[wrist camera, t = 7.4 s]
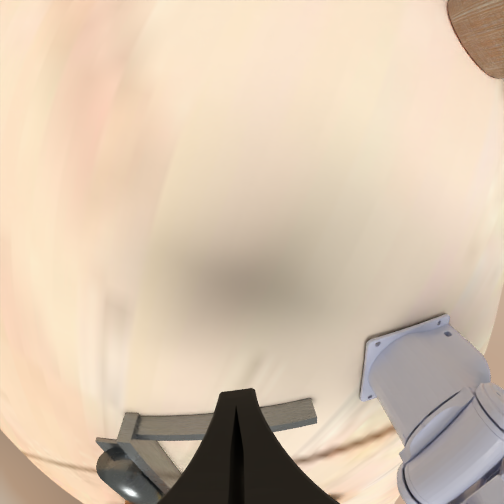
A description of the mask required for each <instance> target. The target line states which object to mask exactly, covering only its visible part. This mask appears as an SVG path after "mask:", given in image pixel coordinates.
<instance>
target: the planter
mask: <svg viewBox="0 0 504 504" xmlns="http://www.w3.org/2000/svg"><path fill="white" fill-rule="evenodd" d="M448 12H449V16H450V19H451V22H452V25H453V28H454V30H455V32H456V34H457V36H458V38H459V39H460V41H461V43H462V44H463V46H464V47H465V49H466V50H467V52H468V53H469V55H470V56H471V57H472V59H473V60H474V61H475V62H476V63H477V64H478V66H479V67H480V68H481V69H482V70H484V71H485V72H486V73H487V74H489V75H490V76H492V77H494V78H498V79H499V78H504V0H449V1H448Z"/></svg>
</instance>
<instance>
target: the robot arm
mask: <svg viewBox="0 0 504 504" xmlns="http://www.w3.org/2000/svg"><path fill="white" fill-rule="evenodd" d="M449 320H450V316H449V315H448V314H444V315H442V316H439V317H436V318H434V319H431V320H428V321H426V322H423V323H420V324H417V325H414V326H411V327H408V328H405V329H402V330H399V331H396V332H393V333H390V334H386V335H383V336H380V337H377V338H373V339H370V340H369V341H368V342H367V344H366V352H365V361H364V370H363V378H362V385H361V392H360V400H361V401H367V400H370V399H373V398H376V397H377V398H378V400H379V401H380V403H381V405H382V407H383V409H384V410H385V412H386V414H387V416H388V417H389V419H390V421H391V423H392V425H393V426H394V428H395V430H396V432H397V434H398V435H399V437H400V439H401V441H402V443H403V445H404V446H405V448H404V449H403V450H402V451H401V452H400V453H399V455H400V457H401V459H402V461H403V463H402V464H401V465H400V467H399V469H398V472H397V485H398V490H399V493H400V495H401V497H402V499H403V500H404V501H405V503H406V504H504V390H503V389H502V388H501V387H499V386H498V385H496V384H494V383H491V382H490V381H491V375H490V369H489V366H488V364H487V361H486V359H485V358H484V356H483V355H482V354H481V353H480V352H479V351H478V350H477V349H476V348H475V347H474V346H473V345H472V344H471V343H470V342H469V341H468V340H466V339H465V338H464V337H463V336H462V335H461V334H460V333H459V332H457V331H456V330H455V329H454V328H453V327H452V326H451V325H450V324H449ZM377 342H378V343H377ZM376 343H377V344H376ZM157 504H340V503H338V502H337V501H335V500H334V499H333V498H332V497H330V496H329V495H328V494H327V493H325V492H324V491H323V490H322V489H321V488H319V487H318V486H317V485H316V484H315V483H314V482H313V481H312V480H311V479H310V478H309V477H308V476H307V475H306V474H305V473H304V472H303V471H302V470H301V469H300V468H299V467H298V466H297V465H296V463H295V462H294V461H293V460H292V459H291V457H290V456H289V455H288V454H287V452H286V451H285V450H284V448H283V447H282V446H281V444H280V443H279V441H278V440H277V438H276V437H275V435H274V434H273V432H272V430H271V429H270V427H269V425H268V423H267V421H266V420H265V418H264V416H263V414H262V411H261V409H260V407H259V404H258V401H257V397H256V393H255V390H254V389H252V388H249V389H242V390H235V391H227V392H221V393H220V394H219V398H218V402H217V405H216V408H215V411H214V414H213V417H212V419H211V422H210V424H209V427H208V429H207V431H206V434H205V436H204V438H203V440H202V442H201V444H200V446H199V448H198V450H197V451H196V453H195V455H194V457H193V458H192V460H191V462H190V463H189V465H188V466H187V468H186V469H185V471H184V472H183V473H182V475H181V476H180V477H179V479H178V480H177V481H176V483H175V484H174V485H173V486H172V488H171V489H170V490H169V491H168V492H167V493H166V494H165V495H164V496H163V497H162V498H161V499H160V501H159V502H158V503H157Z"/></svg>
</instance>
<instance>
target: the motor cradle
mask: <svg viewBox="0 0 504 504" xmlns="http://www.w3.org/2000/svg"><path fill="white" fill-rule="evenodd" d="M260 409H261V411H262V414H263V416H264V418H265V420H266V421H267V423H268V425H269V427H270V429H271V430H272V432H276V431H282V430H287V429H293V428H297V427H302V426H307V425H311V424H315V423H317V416H316V413H315V410H314V407H313V404H312V401H311V398H309V399H305V400H300V401H296V402H291V403H285V404H280V405H274V406H269V407H262V408H260ZM212 417H213V414H201V415H185V416H140V415H139V414H138V413H125V416H124V419H123V422H122V425H121V428H120V431H119V435H118V438H117V440H112V439H103V438H96V442H97V444H98V445H99V446H100V447H101V448H102V449H103V450H104V453H103V454H102V455H101V456H100V457H99V459H98V461H97V466H96V469H97V473H98V475H99V477H100V478H101V479H102V480H103V481H104V482H105V483H106V484H107V485H109V486H110V487H111V488H112V489H113V490H114V491H116V492H117V493H118V494H119V495H121V496H122V497H123V498H124V499H126V500H127V501H128V502H130V503H131V504H157V503H158V502H159V501H160V499H161V498H162V497H163V496H164V495H165V494H166V493H167V492H168V491H169V490H170V489H171V488H172V486H173V485H174V484H175V483H176V481H177V480H178V479H179V477H180V476H181V475H182V474H181V473H180V472H179V470H178V469H177V468H176V466H175V465H174V464H173V463H172V461H171V460H170V459H169V457H168V456H167V455H166V453H165V452H164V451H163V449H162V448H161V447H160V445H159V444H158V442H157V441H183V440H203V438H204V436H205V434H206V431H207V429H208V427H209V424H210V422H211V419H212ZM156 440H157V441H156Z"/></svg>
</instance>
